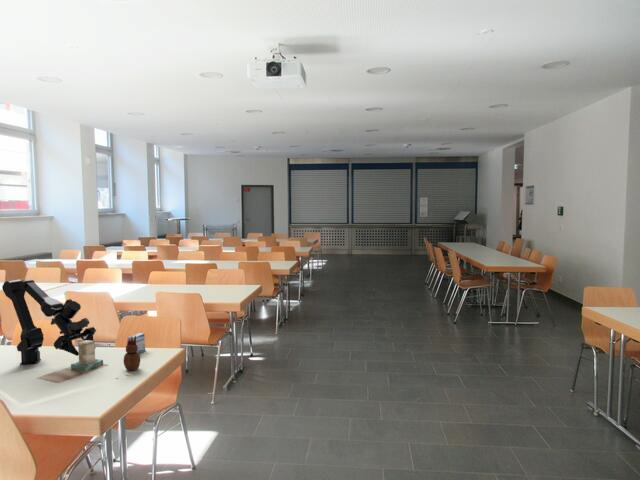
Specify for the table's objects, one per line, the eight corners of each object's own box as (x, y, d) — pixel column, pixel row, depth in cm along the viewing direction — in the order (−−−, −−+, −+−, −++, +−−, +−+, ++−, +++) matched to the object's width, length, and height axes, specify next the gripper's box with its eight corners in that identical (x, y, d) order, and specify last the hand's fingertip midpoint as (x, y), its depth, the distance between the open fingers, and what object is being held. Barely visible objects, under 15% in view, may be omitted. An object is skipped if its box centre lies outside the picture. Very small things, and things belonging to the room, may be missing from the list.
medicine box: (136, 355, 224) (135, 337, 224) (127, 354, 225) (127, 337, 224) (145, 350, 232) (144, 333, 231) (137, 350, 233) (136, 333, 232)
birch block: (79, 367, 203) (78, 342, 203) (87, 364, 208) (86, 340, 207) (87, 368, 202) (86, 343, 201) (95, 365, 206) (94, 340, 206)
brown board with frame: (58, 385, 185) (58, 377, 185) (35, 380, 191) (35, 373, 191) (109, 367, 207) (109, 360, 206) (87, 363, 213) (87, 356, 213)
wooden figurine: (143, 368, 204) (142, 334, 204) (133, 372, 199) (131, 337, 198) (131, 366, 207) (130, 333, 206) (121, 370, 202) (120, 336, 201)
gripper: (57, 317, 196) (79, 346, 193) (92, 309, 214) (112, 334, 211) (44, 335, 199) (65, 363, 196) (79, 325, 217) (99, 350, 214)
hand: (86, 352), depth 204 cm, fingers open, 9 cm apart
